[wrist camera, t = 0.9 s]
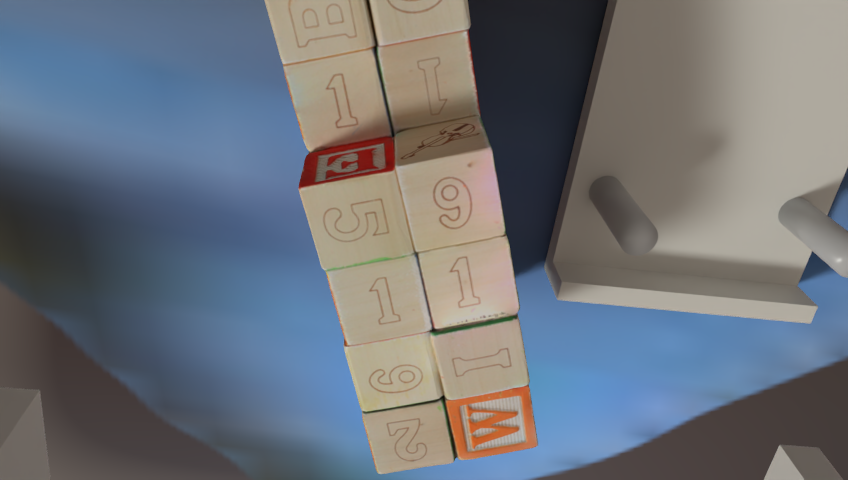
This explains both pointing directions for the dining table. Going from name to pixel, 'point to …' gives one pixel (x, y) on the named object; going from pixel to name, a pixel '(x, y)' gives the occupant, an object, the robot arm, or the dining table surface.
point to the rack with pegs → (707, 158)
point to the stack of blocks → (409, 225)
